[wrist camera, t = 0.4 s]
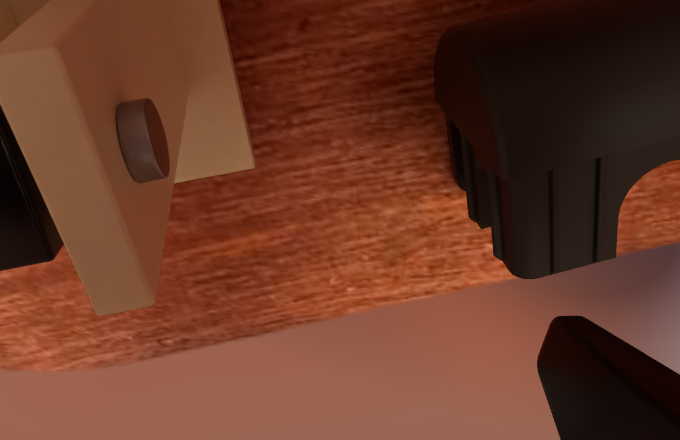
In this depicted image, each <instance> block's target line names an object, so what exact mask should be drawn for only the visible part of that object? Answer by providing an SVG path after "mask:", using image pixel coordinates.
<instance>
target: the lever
mask: <svg viewBox="0 0 680 440" xmlns="http://www.w3.org/2000/svg"><path fill="white" fill-rule="evenodd" d="M63 245H64V243H63V241H62V238H61V236H60V234H59V232H58V230H57V227H56V225H55V223H54V221H53V219H52V217H51V214H50V212H49V210H48V208H47V206H46V203H45V201H44V199H43V197H42V195H41V192H40V190H39V188H38V186H37V184H36V182H35V179H34V177H33V175H32V173H31V171H30V168H29V166H28V164H27V162H26V160H25V157H24V155H23V153H22V151H21V149H20V147H19V144H18V142H17V140H16V138H15V136H14V133H13V131H12V129H11V127H10V125H9V123H8V120H7V118H6V116H5V114H4V112H3V109H2V107H1V105H0V271H2V270H7V269H12V268H18V267H23V266H28V265H33V264H38V263H43V262H49V261H52V260H53V259H55V257H56V256H57V254H58V253H59V251H60V249H61V248H62V246H63Z"/></svg>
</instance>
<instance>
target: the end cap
mask: <svg viewBox="0 0 680 440" xmlns="http://www.w3.org/2000/svg"><path fill="white" fill-rule="evenodd" d="M434 87H435V98H436V102H437V103H438V105H439V106H440V107H441V108H442V109H443V111H444V112H445V115H446V124H447V132H448V141H449V150H450V159H451V167H452V175H453V178H454V180H455V182H456V183H457V185H458V186H459V188H461V189H462V190H464V191H466V195H467V205H468V214H469V218H470V219H471V220H473V221H474V222H476V223H477V224H478V225H479V227H480V228H481V229H484V228H487V227H491V229H492V242H493V254H494V256H495V257H496V258H498V259H499V260H501V261H503V263H504V264H505V266H506V267H507V269H508V270H509V271H510V272H511V273H512V274H513V275H515V276H517V277H519V278H523V279H536V278H541V277H544V276H548V275H552V274H556V273H559V272H563V271H567V270H571V269H574V268H578V267H582V266H586V265H589V264H593V263H597V262H601V261H604V260H608V259H612V258H615V257H616V245H617V229H618V216H619V210H620V207H621V204H622V202H623V200H624V198H625V196H626V194H627V193H628V191H629V190H630V189H631V188H632V186H633V185H634V184H635V183H636V182H637V181H638V180H639V179H640V178H641V177H642V176H643V175H645V174H646V173H648V172H649V171H650V170H652V169H654V168H656V167H658V166H660V165H661V164H664V163H667V162H670V161H674V160H680V0H557V1H553V2H549V3H545V4H541V5H537V6H533V7H529V8H525V9H521V10H517V11H513V12H510V13H506V14H502V15H498V16H494V17H490V18H486V19H482V20H478V21H474V22H470V23H466V24H462V25H458V26H454V27H451V28H449V29H447V30H446V31H445V32H444V34H443V35H442V36H441V37H440V39H439V42H438V45H437V48H436V54H435V60H434Z"/></svg>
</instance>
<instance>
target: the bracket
mask: <svg viewBox="0 0 680 440" xmlns="http://www.w3.org/2000/svg"><path fill="white" fill-rule="evenodd" d="M0 105H1V107H2V109H3V112H4V114H5V116H6V118H7V120H8V123H9V125H10V127H11V129H12V131H13V133H14V136H15V138H16V140H17V142H18V144H19V147H20V149H21V151H22V153H23V155H24V157H25V160H26V162H27V164H28V166H29V168H30V171H31V173H32V175H33V177H34V179H35V182H36V184H37V186H38V188H39V190H40V192H41V195H42V197H43V199H44V201H45V203H46V206H47V208H48V210H49V212H50V214H51V217H52V219H53V221H54V223H55V225H56V227H57V230H58V232H59V234H60V236H61V238H62V241H63V243H64V245H65V247H66V249H67V252H68V254H69V256H70V258H71V260H72V262H73V265H74V267H75V269H76V271H77V273H78V276H79V278H80V280H81V282H82V284H83V287H84V289H85V291H86V293H87V295H88V297H89V300H90V302H91V304H92V306H93V308H94V311H95V313H96V314H97V315H98V316H104V315H109V314H114V313H119V312H124V311H129V310H134V309H139V308H144V307H149V306H152V305H154V304H155V300H156V294H157V287H158V281H159V275H160V269H161V262H162V256H163V250H164V244H165V238H166V231H167V225H168V219H169V213H170V206H171V200H172V194H173V188H174V183H178V182H184V181H189V180H194V179H200V178H205V177H210V176H216V175H221V174H226V173H232V172H237V171H242V170H248V169H253V168H255V156H254V150H253V145H252V141H251V136H250V132H249V128H248V123H247V119H246V114H245V110H244V106H243V101H242V97H241V92H240V88H239V84H238V79H237V75H236V70H235V66H234V61H233V57H232V53H231V48H230V44H229V39H228V35H227V31H226V26H225V22H224V17H223V13H222V9H221V4H220V0H0Z"/></svg>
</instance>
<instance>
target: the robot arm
mask: <svg viewBox="0 0 680 440" xmlns="http://www.w3.org/2000/svg"><path fill="white" fill-rule="evenodd" d="M537 368H538V373H539V377H540V379H541V383H542V386H543V389H544V392H545V395H546V398H547V400H548V403H549V406H550V409H551V412H552V415H553V418H554V421H555V424H556V427H557V430H558V433H559V436H560V439H561V440H680V375H679V374H678V373H676V372H674V371H673V370H671V369H669V368H668V367H666V366H664V365H663V364H661V363H660V362H658V361H656V360H655V359H653V358H651V357H649V356H648V355H646V354H645V353H643V352H641V351H640V350H638V349H636V348H635V347H633V346H631V345H630V344H628V343H626V342H624V341H623V340H621V339H619V338H618V337H616V336H614V335H613V334H611V333H610V332H608V331H606V330H605V329H603V328H601V327H600V326H598V325H596V324H595V323H593V322H591V321H590V320H588V319H586V318H585V317H582V316H558V317H556V318H554V319H553V320H552V321H551V323H550V325H549V328H548V331H547V334H546V336H545V339H544V342H543V344H542V347H541V350H540V353H539V355H538V360H537Z"/></svg>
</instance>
